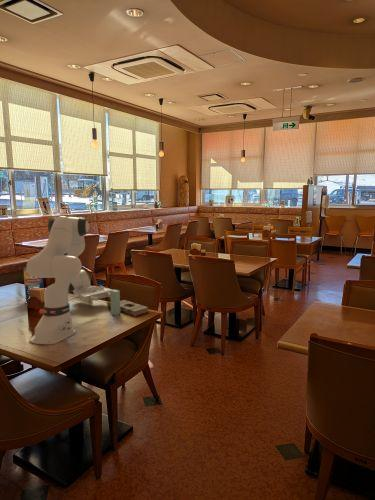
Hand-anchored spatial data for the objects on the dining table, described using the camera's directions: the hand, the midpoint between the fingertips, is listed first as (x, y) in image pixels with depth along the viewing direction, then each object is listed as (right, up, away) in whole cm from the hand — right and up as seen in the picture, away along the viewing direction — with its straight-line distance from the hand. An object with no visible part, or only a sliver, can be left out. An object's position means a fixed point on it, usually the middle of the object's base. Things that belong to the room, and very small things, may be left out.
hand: (103, 297), depth 214 cm
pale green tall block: (+8, -9, -6) cm, 14 cm away
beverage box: (-49, -5, +21) cm, 54 cm away
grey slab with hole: (+15, -8, +1) cm, 17 cm away
